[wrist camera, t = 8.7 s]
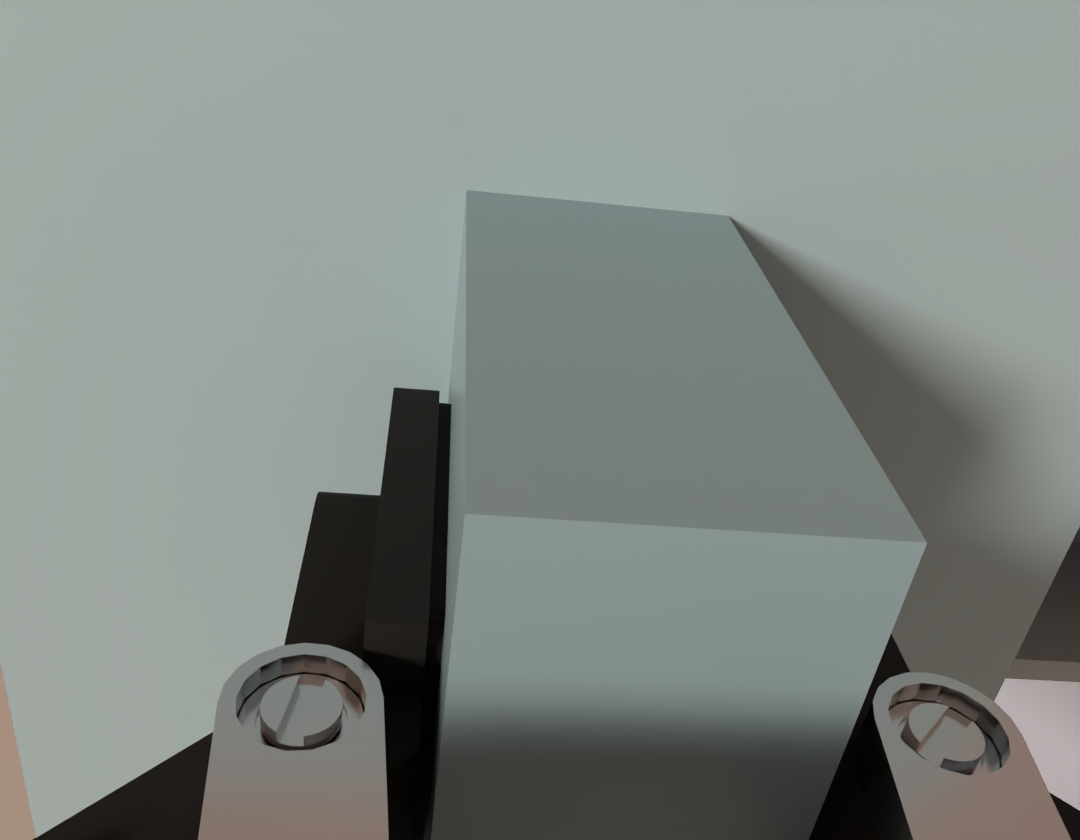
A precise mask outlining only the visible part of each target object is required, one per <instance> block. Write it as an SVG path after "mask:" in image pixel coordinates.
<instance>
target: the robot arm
mask: <svg viewBox="0 0 1080 840" xmlns="http://www.w3.org/2000/svg"><path fill="white" fill-rule="evenodd" d="M439 397H440V391H436V390H423V389H410V388H396V387H394V390H393V397H392V405H391V413H390V421H389V429H388V437H387V445H386V453H385V461H384V469H383V477H382V485H381V493H380V495H365V494H350V493H334V492H318V494H317V497H316V500H315V504H314V509H313V514H312V518H311V523H310V527H309V532H308V537H307V541H306V546H305V551H304V555H303V560H302V565H301V569H300V574H299V579H298V583H297V588H296V592H295V597H294V602H293V606H292V611H291V616H290V620H289V625H288V630H287V634H286V639H285V643H284V646H279V647H276V648H273V649H270V650H268V651H265V652H262V653H259V654H257V655H255V656H254V657H252V658H251V659H249V660H248V661H246V662H245V663H243V664H242V665H240V666H239V667H238V668H237V669H236V670H235V671H234V673H233V674H232V675H231V676H230V677H229V679H228V680H227V681H226V682H225V683H224V685H223V688H222V691H221V694H220V697H219V699H218V702H217V708H216V715H215V722H214V729H213V732H212V733H210V734H208V735H207V736H205V737H203V738H202V739H200V740H198V741H197V742H195V743H193V744H192V745H190V746H188V747H187V748H185V749H183V750H182V751H180V752H178V753H177V754H175V755H173V756H172V757H170V758H168V759H167V760H165V761H163V762H162V763H160V764H158V765H157V766H155V767H153V768H152V769H150V770H148V771H147V772H145V773H143V774H142V775H140V776H138V777H137V778H135V779H133V780H132V781H130V782H128V783H127V784H125V785H123V786H122V787H120V788H118V789H117V790H115V791H113V792H112V793H110V794H108V795H107V796H105V797H103V798H102V799H100V800H98V801H97V802H95V803H93V804H92V805H90V806H88V807H87V808H85V809H83V810H82V811H80V812H78V813H77V814H75V815H73V816H71V817H70V818H68V819H66V820H65V821H63V822H61V823H60V824H58V825H56V826H55V827H53V828H51V829H50V830H48V831H46V832H45V833H43V834H41V835H40V836H38V837H36V838H35V839H33V840H424V831H425V821H426V811H427V801H428V791H429V781H430V771H431V761H432V750H433V740H434V730H435V720H436V710H437V700H438V690H439V680H440V670H441V660H442V649H443V637H444V622H445V601H446V566H447V531H448V496H449V460H450V425H451V404H448V403H439ZM809 840H1080V811H1079V810H1077V809H1076V808H1074V807H1072V806H1071V805H1069V804H1067V803H1066V802H1064V801H1062V800H1061V799H1059V798H1058V797H1056V796H1054V795H1053V794H1051V793H1049V791H1048V789H1047V787H1046V785H1045V783H1044V781H1043V778H1042V776H1041V774H1040V772H1039V770H1038V768H1037V766H1036V764H1035V761H1034V759H1033V757H1032V755H1031V753H1030V751H1029V749H1028V747H1027V744H1026V742H1025V740H1024V738H1023V736H1022V734H1021V733H1020V731H1019V730H1018V728H1017V727H1016V725H1015V724H1014V722H1013V721H1012V719H1011V718H1010V717H1009V716H1008V715H1007V714H1006V713H1005V712H1004V711H1003V710H1002V709H1001V708H1000V707H999V706H998V705H997V704H996V703H995V702H994V701H993V700H991V699H989V698H988V697H986V696H985V695H983V694H982V693H980V692H979V691H977V690H976V689H974V688H973V687H970V686H968V685H966V684H963V683H961V682H959V681H956V680H954V679H952V678H949V677H945V676H940V675H936V674H932V673H921V672H910V670H909V668H908V666H907V664H906V662H905V660H904V658H903V656H902V654H901V652H900V650H899V648H898V646H897V644H896V642H895V640H894V638H893V636H892V634H891V635H890V637H889V640H888V643H887V645H886V648H885V650H884V653H883V655H882V658H881V660H880V663H879V665H878V668H877V670H876V673H875V675H874V678H873V680H872V683H871V685H870V688H869V690H868V693H867V695H866V698H865V700H864V703H863V705H862V708H861V710H860V713H859V715H858V718H857V720H856V723H855V725H854V728H853V730H852V733H851V735H850V738H849V740H848V743H847V745H846V748H845V750H844V753H843V755H842V758H841V760H840V763H839V765H838V768H837V770H836V773H835V775H834V778H833V780H832V783H831V785H830V788H829V790H828V793H827V795H826V798H825V800H824V803H823V805H822V808H821V810H820V813H819V815H818V818H817V820H816V823H815V825H814V828H813V830H812V833H811V835H810V838H809Z"/></svg>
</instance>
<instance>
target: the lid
mask: <svg viewBox="0 0 1080 840" xmlns="http://www.w3.org/2000/svg"><path fill="white" fill-rule="evenodd" d="M394 387H396V388H410V389H423V390H436V391H440V397H439V403H448V404H451V425H450V460H449V496H448V531H447V566H446V601H445V622H444V637H443V649H442V660H441V670H440V680H439V690H438V700H437V710H436V720H435V730H434V740H433V750H432V761H431V771H430V781H429V791H428V801H427V811H426V821H425V831H424V840H809V838H810V835H811V833H812V830H813V828H814V825H815V823H816V820H817V818H818V815H819V813H820V810H821V808H822V805H823V803H824V800H825V798H826V795H827V793H828V790H829V788H830V785H831V783H832V780H833V778H834V775H835V773H836V770H837V768H838V765H839V763H840V760H841V758H842V755H843V753H844V750H845V748H846V745H847V743H848V740H849V738H850V735H851V733H852V730H853V728H854V725H855V723H856V720H857V718H858V715H859V713H860V710H861V708H862V705H863V703H864V700H865V698H866V695H867V693H868V690H869V688H870V685H871V683H872V680H873V678H874V675H875V673H876V670H877V668H878V665H879V663H880V660H881V658H882V655H883V653H884V650H885V648H886V645H887V643H888V640H889V637H890V635H891V634H892V636H893V638H894V640H895V642H896V644H897V646H898V648H899V650H900V652H901V654H902V656H903V658H904V660H905V662H906V664H907V666H908V668H909V670H910V672H921V673H932V674H936V675H940V676H945V677H949V678H952V679H954V680H956V681H959V682H961V683H963V684H966V685H968V686H970V687H973V688H974V689H976V690H977V691H979V692H980V693H982V694H983V695H985V696H986V697H988V698H989V699H991V700H993V701H994V700H995V698H996V696H997V694H998V692H999V690H1000V688H1001V686H1002V684H1003V682H1004V679H1005V677H1006V675H1007V673H1008V671H1009V669H1010V667H1011V665H1012V663H1013V661H1014V659H1015V657H1016V655H1017V653H1018V651H1019V649H1020V647H1021V645H1022V643H1023V641H1024V639H1025V637H1026V635H1027V633H1028V631H1029V629H1030V626H1031V624H1032V622H1033V620H1034V618H1035V616H1036V614H1037V612H1038V610H1039V608H1040V606H1041V604H1042V602H1043V600H1044V598H1045V596H1046V594H1047V592H1048V590H1049V588H1050V586H1051V584H1052V582H1053V580H1054V578H1055V576H1056V574H1057V571H1058V569H1059V567H1060V565H1061V563H1062V561H1063V559H1064V557H1065V555H1066V553H1067V551H1068V549H1069V547H1070V545H1071V543H1072V541H1073V539H1074V537H1075V535H1076V533H1077V531H1078V529H1079V527H1080V0H0V662H1V668H2V672H3V677H4V682H5V687H6V692H7V697H8V702H9V707H10V712H11V717H12V722H13V727H14V731H15V737H16V742H17V746H18V751H19V756H20V761H21V766H22V770H23V776H24V781H25V786H26V791H27V796H28V801H29V805H30V810H31V815H32V820H33V825H34V830H35V835H36V837H38V836H40V835H41V834H43V833H45V832H46V831H48V830H50V829H51V828H53V827H55V826H56V825H58V824H60V823H61V822H63V821H65V820H66V819H68V818H70V817H71V816H73V815H75V814H77V813H78V812H80V811H82V810H83V809H85V808H87V807H88V806H90V805H92V804H93V803H95V802H97V801H98V800H100V799H102V798H103V797H105V796H107V795H108V794H110V793H112V792H113V791H115V790H117V789H118V788H120V787H122V786H123V785H125V784H127V783H128V782H130V781H132V780H133V779H135V778H137V777H138V776H140V775H142V774H143V773H145V772H147V771H148V770H150V769H152V768H153V767H155V766H157V765H158V764H160V763H162V762H163V761H165V760H167V759H168V758H170V757H172V756H173V755H175V754H177V753H178V752H180V751H182V750H183V749H185V748H187V747H188V746H190V745H192V744H193V743H195V742H197V741H198V740H200V739H202V738H203V737H205V736H207V735H208V734H210V733H212V732H213V729H214V722H215V715H216V708H217V702H218V699H219V697H220V694H221V691H222V688H223V685H224V683H225V682H226V681H227V680H228V679H229V677H230V676H231V675H232V674H233V673H234V671H235V670H236V669H237V668H238V667H239V666H240V665H242V664H243V663H245V662H246V661H248V660H249V659H251V658H252V657H254V656H255V655H257V654H259V653H262V652H265V651H268V650H270V649H273V648H276V647H279V646H284V643H285V639H286V634H287V630H288V625H289V620H290V616H291V611H292V606H293V602H294V597H295V592H296V588H297V583H298V579H299V574H300V569H301V565H302V560H303V555H304V551H305V546H306V541H307V537H308V532H309V527H310V523H311V518H312V514H313V509H314V504H315V500H316V497H317V494H318V492H334V493H350V494H365V495H380V493H381V485H382V477H383V469H384V461H385V453H386V445H387V437H388V429H389V421H390V413H391V405H392V397H393V390H394Z"/></svg>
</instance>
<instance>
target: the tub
mask: <svg viewBox="0 0 1080 840" xmlns="http://www.w3.org/2000/svg"><path fill="white" fill-rule="evenodd" d="M1005 678H1013V679H1032V680H1051V681H1071V682H1080V527H1079V529H1078V531H1077V533H1076V535H1075V537H1074V539H1073V541H1072V543H1071V545H1070V547H1069V549H1068V551H1067V553H1066V555H1065V557H1064V559H1063V561H1062V563H1061V565H1060V567H1059V569H1058V571H1057V574H1056V576H1055V578H1054V580H1053V582H1052V584H1051V586H1050V588H1049V590H1048V592H1047V594H1046V596H1045V598H1044V600H1043V602H1042V604H1041V606H1040V608H1039V610H1038V612H1037V614H1036V616H1035V618H1034V620H1033V622H1032V624H1031V626H1030V629H1029V631H1028V633H1027V635H1026V637H1025V639H1024V641H1023V643H1022V645H1021V647H1020V649H1019V651H1018V653H1017V655H1016V657H1015V659H1014V661H1013V663H1012V665H1011V667H1010V669H1009V671H1008V673H1007V675H1006V677H1005Z"/></svg>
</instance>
